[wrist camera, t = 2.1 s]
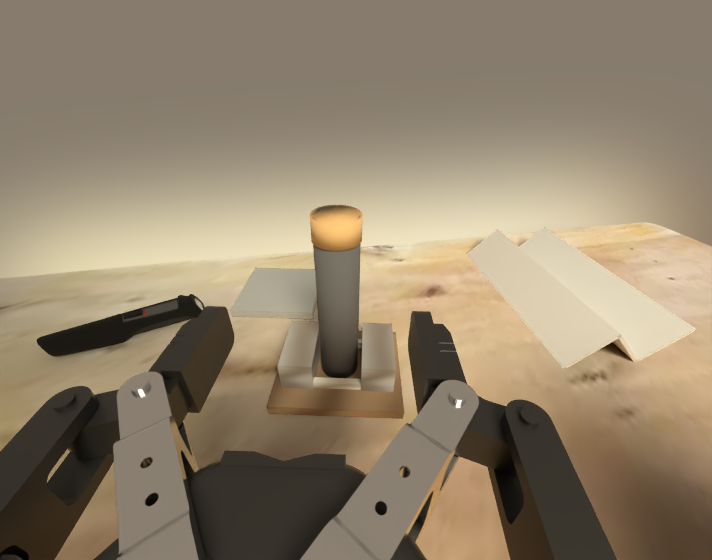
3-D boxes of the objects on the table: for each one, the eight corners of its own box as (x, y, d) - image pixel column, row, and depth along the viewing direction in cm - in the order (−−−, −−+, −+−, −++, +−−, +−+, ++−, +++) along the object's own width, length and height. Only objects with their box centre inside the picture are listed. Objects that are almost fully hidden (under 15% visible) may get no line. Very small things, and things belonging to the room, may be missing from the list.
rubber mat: (232, 316, 39) (230, 310, 38) (256, 273, 47) (255, 267, 47) (312, 318, 39) (311, 312, 38) (322, 275, 47) (321, 269, 47)
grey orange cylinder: (318, 379, 30) (305, 224, 21) (322, 350, 33) (313, 204, 24) (357, 380, 30) (361, 225, 21) (358, 351, 33) (362, 205, 24)
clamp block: (268, 413, 28) (261, 384, 26) (291, 335, 36) (287, 308, 34) (402, 418, 28) (407, 389, 26) (394, 338, 36) (397, 311, 34)
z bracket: (584, 391, 36) (563, 368, 33) (484, 274, 57) (466, 253, 54) (695, 330, 32) (683, 298, 29) (545, 228, 53) (529, 204, 50)
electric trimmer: (55, 347, 35) (39, 326, 33) (203, 304, 42) (196, 284, 40) (49, 371, 32) (31, 349, 30) (208, 320, 39) (201, 300, 37)
